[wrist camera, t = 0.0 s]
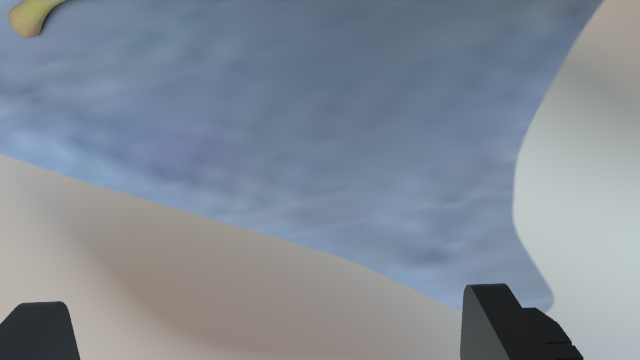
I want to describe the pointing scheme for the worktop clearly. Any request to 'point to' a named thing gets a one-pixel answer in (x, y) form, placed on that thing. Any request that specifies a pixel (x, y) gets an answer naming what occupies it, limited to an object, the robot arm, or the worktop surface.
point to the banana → (30, 16)
